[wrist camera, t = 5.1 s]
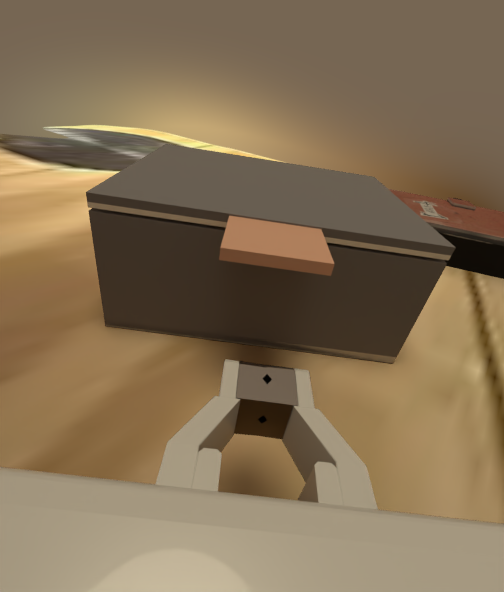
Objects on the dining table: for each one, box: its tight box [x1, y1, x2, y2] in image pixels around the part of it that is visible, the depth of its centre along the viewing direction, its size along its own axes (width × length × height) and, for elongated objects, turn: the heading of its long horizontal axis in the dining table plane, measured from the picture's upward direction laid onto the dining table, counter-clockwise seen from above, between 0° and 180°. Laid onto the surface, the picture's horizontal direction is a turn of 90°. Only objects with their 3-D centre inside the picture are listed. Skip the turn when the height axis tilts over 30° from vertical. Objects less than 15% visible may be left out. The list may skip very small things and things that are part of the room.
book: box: [389, 189, 504, 279], centre depth 44 cm, size 26×18×5 cm
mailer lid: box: [86, 144, 456, 276], centre depth 22 cm, size 20×20×1 cm
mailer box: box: [89, 208, 447, 363], centre depth 27 cm, size 20×16×8 cm
